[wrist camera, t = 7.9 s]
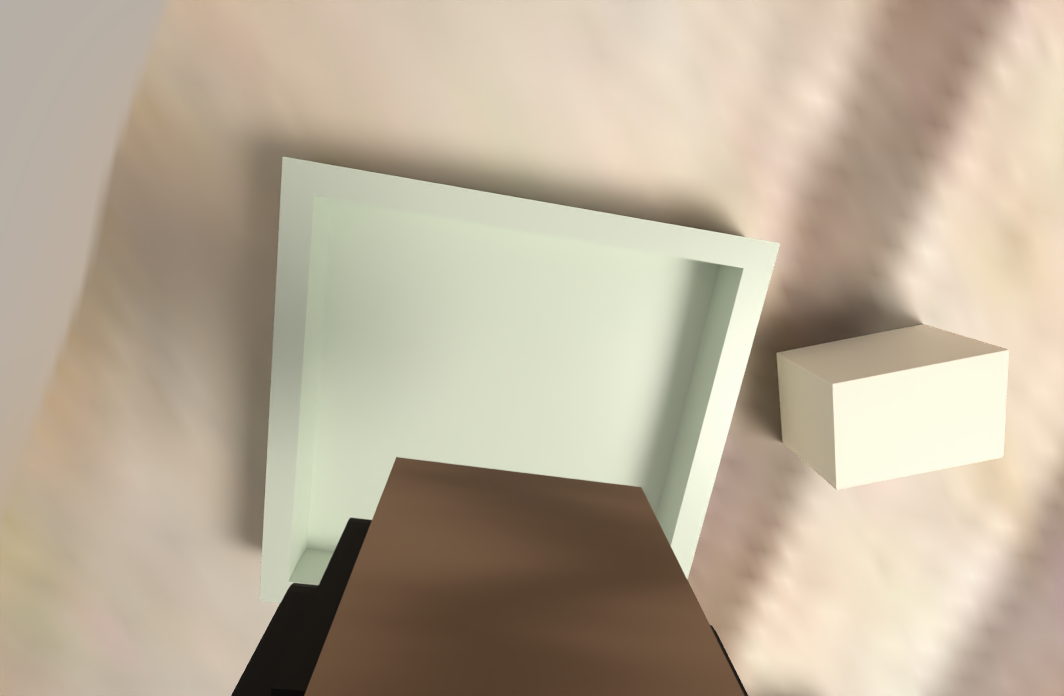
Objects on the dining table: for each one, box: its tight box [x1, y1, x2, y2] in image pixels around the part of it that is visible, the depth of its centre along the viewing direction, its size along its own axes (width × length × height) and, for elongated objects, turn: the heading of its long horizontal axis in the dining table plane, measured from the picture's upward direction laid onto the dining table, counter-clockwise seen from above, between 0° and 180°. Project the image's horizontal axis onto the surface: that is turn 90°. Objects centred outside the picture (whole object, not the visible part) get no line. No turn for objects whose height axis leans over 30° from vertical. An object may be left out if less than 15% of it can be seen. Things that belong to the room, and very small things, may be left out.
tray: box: [259, 157, 780, 603], centre depth 21 cm, size 16×16×3 cm
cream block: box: [777, 324, 1009, 490], centre depth 21 cm, size 6×4×4 cm, turn 101°
